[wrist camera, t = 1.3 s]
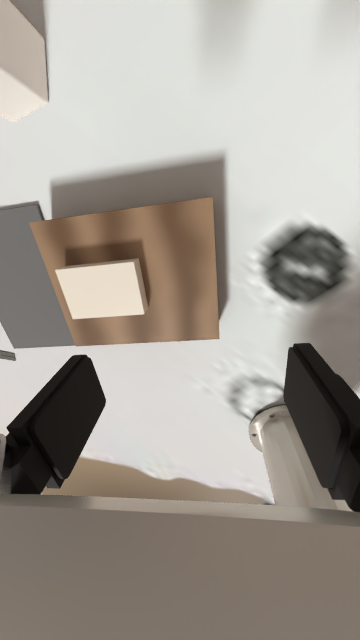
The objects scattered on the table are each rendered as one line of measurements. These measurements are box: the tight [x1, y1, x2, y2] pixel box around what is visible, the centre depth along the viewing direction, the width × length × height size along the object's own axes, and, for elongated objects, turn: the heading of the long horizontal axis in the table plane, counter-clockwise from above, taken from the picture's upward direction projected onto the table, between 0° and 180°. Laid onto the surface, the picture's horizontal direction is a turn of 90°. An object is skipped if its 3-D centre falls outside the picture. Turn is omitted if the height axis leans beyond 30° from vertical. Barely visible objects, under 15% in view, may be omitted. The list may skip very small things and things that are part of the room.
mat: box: [0, 205, 75, 349], centre depth 32 cm, size 13×20×1 cm, turn 7°
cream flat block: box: [55, 258, 148, 319], centre depth 25 cm, size 9×6×2 cm, turn 97°
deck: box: [29, 197, 219, 346], centre depth 28 cm, size 20×16×4 cm
